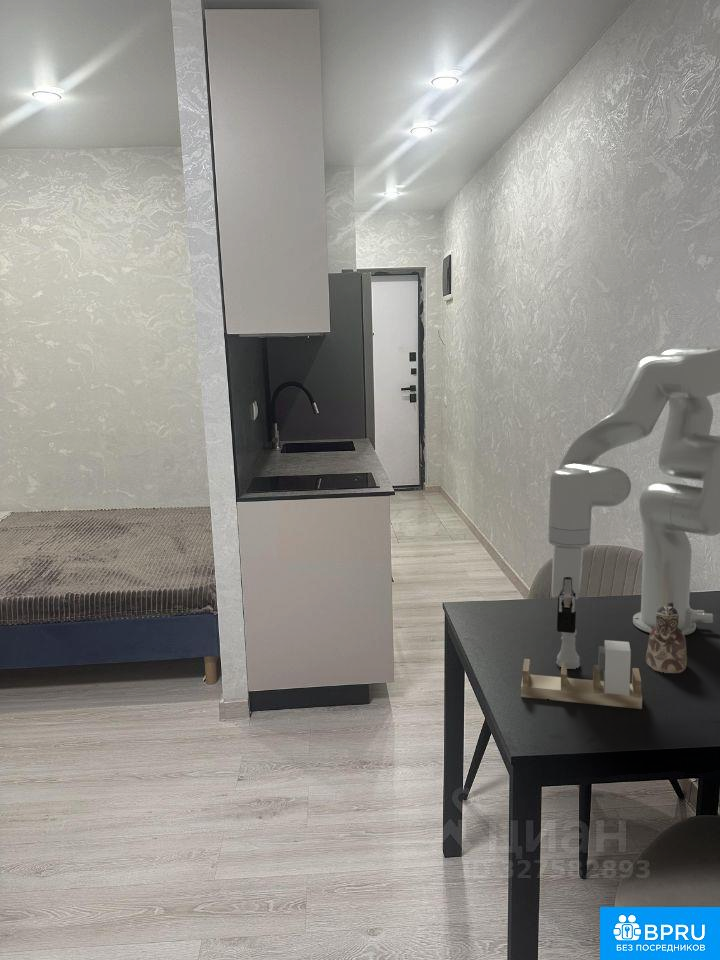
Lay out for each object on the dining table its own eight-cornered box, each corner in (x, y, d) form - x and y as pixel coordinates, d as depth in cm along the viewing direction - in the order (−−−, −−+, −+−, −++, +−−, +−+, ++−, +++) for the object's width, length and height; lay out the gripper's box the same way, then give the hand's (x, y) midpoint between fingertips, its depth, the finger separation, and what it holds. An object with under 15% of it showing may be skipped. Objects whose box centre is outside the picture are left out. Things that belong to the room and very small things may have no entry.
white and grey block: (627, 684, 122) (628, 641, 121) (629, 695, 118) (630, 651, 117) (597, 681, 124) (598, 639, 122) (598, 692, 120) (599, 649, 118)
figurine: (640, 666, 133) (642, 607, 131) (653, 653, 138) (655, 596, 136) (679, 676, 128) (682, 615, 126) (691, 663, 134) (694, 603, 131)
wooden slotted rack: (639, 695, 122) (639, 668, 121) (641, 709, 118) (642, 681, 117) (522, 683, 128) (522, 658, 127) (521, 696, 123) (521, 670, 122)
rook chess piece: (581, 671, 132) (582, 631, 131) (557, 670, 133) (557, 630, 132) (578, 661, 136) (579, 622, 135) (555, 659, 137) (555, 621, 136)
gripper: (549, 524, 139) (547, 605, 142) (547, 545, 123) (544, 637, 126) (589, 526, 137) (585, 609, 140) (591, 548, 121) (587, 641, 123)
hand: (566, 622), depth 133 cm, fingers open, 9 cm apart
